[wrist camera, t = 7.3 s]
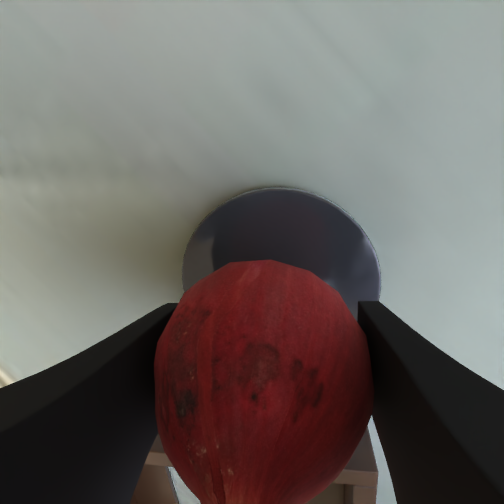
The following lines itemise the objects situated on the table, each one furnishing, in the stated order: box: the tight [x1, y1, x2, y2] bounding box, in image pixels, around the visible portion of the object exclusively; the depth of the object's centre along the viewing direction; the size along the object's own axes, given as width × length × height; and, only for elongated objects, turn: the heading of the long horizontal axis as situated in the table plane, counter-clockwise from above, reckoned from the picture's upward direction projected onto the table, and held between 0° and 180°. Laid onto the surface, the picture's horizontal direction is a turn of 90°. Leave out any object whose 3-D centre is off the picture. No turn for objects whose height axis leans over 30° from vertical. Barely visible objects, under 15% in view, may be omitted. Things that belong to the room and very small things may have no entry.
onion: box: [154, 260, 374, 504], centre depth 8 cm, size 6×6×8 cm
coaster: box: [182, 187, 381, 321], centre depth 13 cm, size 8×8×1 cm
